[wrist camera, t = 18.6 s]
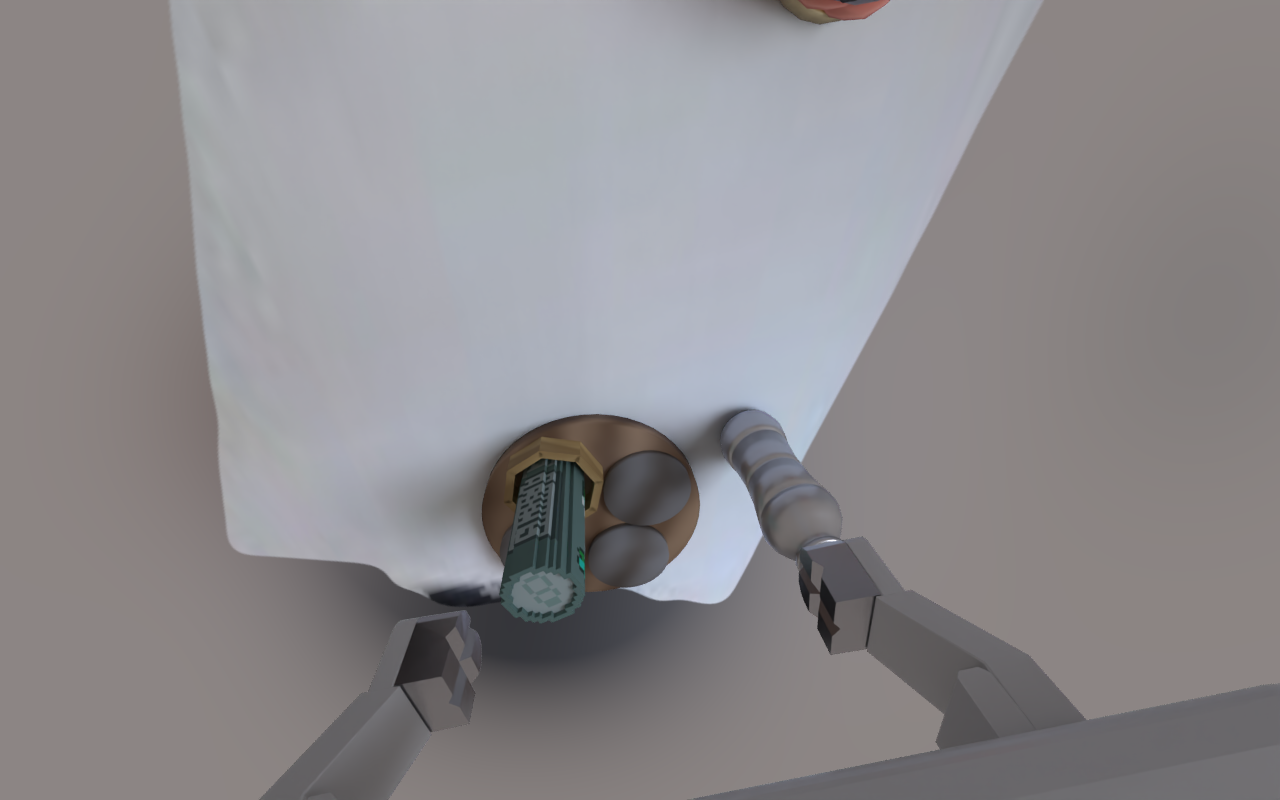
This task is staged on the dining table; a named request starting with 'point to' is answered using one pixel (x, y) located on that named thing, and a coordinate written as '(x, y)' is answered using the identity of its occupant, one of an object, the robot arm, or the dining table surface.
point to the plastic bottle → (779, 485)
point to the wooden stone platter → (606, 495)
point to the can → (547, 543)
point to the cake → (832, 9)
